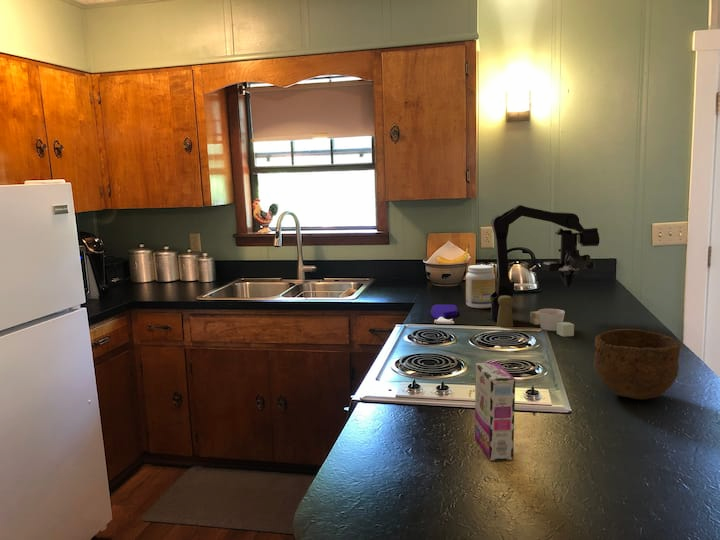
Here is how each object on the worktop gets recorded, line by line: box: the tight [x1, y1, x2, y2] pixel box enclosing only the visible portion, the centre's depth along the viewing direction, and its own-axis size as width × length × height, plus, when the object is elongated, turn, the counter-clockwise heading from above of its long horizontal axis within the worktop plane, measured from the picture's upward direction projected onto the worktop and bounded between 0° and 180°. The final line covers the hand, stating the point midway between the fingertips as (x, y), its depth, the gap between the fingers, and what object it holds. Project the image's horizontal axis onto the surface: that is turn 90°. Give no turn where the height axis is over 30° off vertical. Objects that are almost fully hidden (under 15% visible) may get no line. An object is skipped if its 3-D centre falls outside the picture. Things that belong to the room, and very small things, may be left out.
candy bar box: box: [474, 361, 516, 462], centre depth 118 cm, size 11×5×16 cm, turn 5°
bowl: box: [593, 328, 682, 401], centre depth 144 cm, size 19×19×15 cm
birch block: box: [529, 310, 540, 326], centre depth 220 cm, size 4×4×4 cm
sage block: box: [556, 321, 575, 337], centre depth 203 cm, size 4×4×4 cm
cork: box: [496, 295, 514, 328], centre depth 217 cm, size 6×6×11 cm
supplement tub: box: [465, 264, 496, 309], centre depth 251 cm, size 12×12×17 cm
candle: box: [537, 308, 566, 332], centre depth 211 cm, size 9×9×6 cm
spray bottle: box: [430, 303, 459, 325], centre depth 233 cm, size 3×11×24 cm
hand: (567, 288), depth 223 cm, fingers closed
